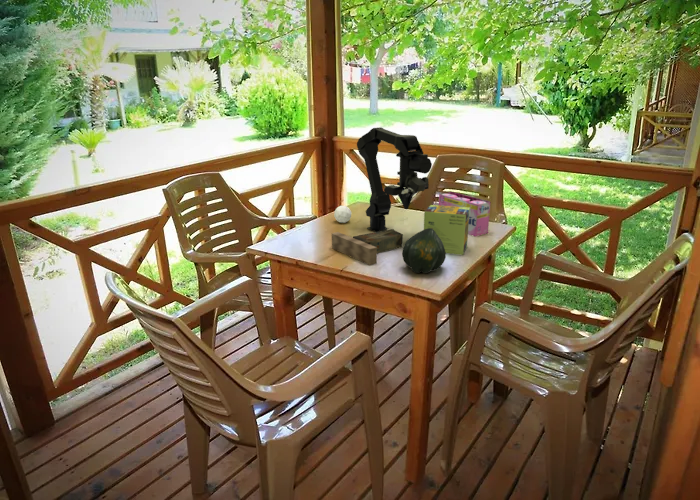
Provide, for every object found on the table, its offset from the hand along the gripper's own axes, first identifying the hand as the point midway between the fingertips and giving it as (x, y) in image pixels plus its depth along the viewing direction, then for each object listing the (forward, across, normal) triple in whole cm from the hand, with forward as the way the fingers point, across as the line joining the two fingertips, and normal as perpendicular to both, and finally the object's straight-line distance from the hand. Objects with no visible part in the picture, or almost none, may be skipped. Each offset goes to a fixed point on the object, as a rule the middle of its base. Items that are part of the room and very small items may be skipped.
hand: (406, 209), depth 195 cm
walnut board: (+13, -27, -1) cm, 30 cm away
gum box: (+13, +29, -4) cm, 32 cm away
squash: (+13, -16, -26) cm, 33 cm away
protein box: (+13, +5, -17) cm, 22 cm away
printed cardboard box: (+13, -16, -1) cm, 21 cm away
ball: (+13, -4, +36) cm, 39 cm away
